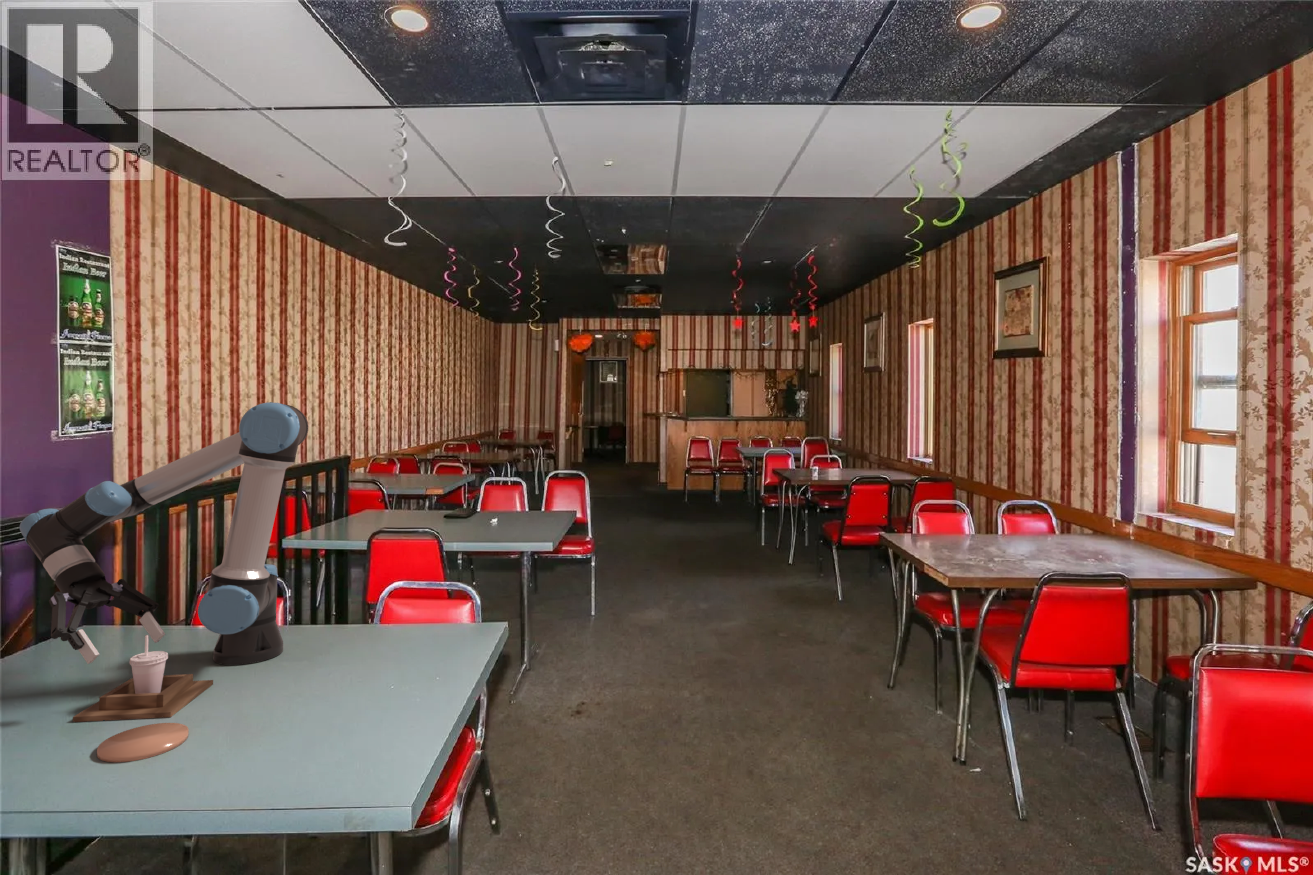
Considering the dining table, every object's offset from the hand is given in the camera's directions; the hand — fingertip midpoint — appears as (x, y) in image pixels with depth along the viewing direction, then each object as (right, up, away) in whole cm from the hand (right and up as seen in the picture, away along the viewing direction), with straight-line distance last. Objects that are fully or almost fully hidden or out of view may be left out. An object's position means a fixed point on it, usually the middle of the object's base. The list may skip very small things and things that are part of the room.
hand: (128, 648), depth 135 cm
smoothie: (+4, -11, 0) cm, 12 cm away
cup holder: (+4, -11, 0) cm, 12 cm away
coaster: (+18, -12, -18) cm, 28 cm away
